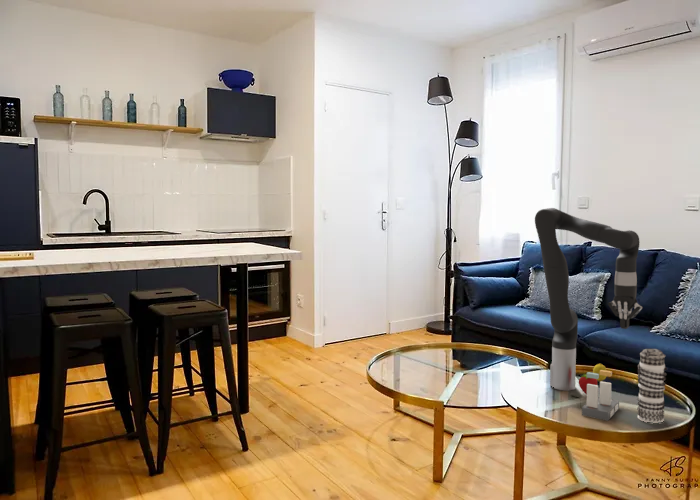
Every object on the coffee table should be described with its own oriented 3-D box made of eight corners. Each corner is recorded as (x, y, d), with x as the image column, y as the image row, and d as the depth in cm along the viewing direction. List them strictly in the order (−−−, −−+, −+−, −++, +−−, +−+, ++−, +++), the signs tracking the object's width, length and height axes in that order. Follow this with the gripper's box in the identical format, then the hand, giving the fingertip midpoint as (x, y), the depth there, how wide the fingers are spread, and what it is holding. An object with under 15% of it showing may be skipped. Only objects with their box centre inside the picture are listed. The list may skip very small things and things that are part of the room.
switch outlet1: (586, 406, 206) (586, 373, 205) (587, 404, 208) (588, 372, 207) (597, 408, 204) (597, 375, 203) (598, 406, 205) (599, 373, 204)
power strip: (581, 415, 207) (581, 407, 206) (596, 400, 221) (596, 392, 221) (608, 421, 201) (609, 412, 200) (622, 405, 215) (622, 397, 215)
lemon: (608, 384, 240) (608, 365, 239) (594, 383, 241) (594, 365, 240) (605, 380, 245) (605, 361, 244) (591, 379, 246) (591, 361, 245)
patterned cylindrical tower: (645, 412, 208) (646, 345, 206) (670, 420, 200) (672, 351, 198) (630, 417, 203) (632, 349, 201) (656, 426, 195) (658, 355, 193)
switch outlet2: (599, 403, 209) (599, 370, 208) (600, 402, 210) (601, 369, 209) (610, 405, 206) (610, 372, 205) (611, 404, 208) (611, 371, 207)
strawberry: (600, 396, 225) (601, 372, 224) (584, 398, 223) (584, 374, 222) (591, 392, 230) (591, 368, 230) (575, 393, 229) (575, 369, 228)
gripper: (603, 282, 218) (602, 326, 219) (637, 286, 207) (636, 333, 208) (614, 280, 222) (613, 324, 224) (648, 284, 211) (646, 329, 213)
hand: (624, 328), depth 216 cm, fingers closed
